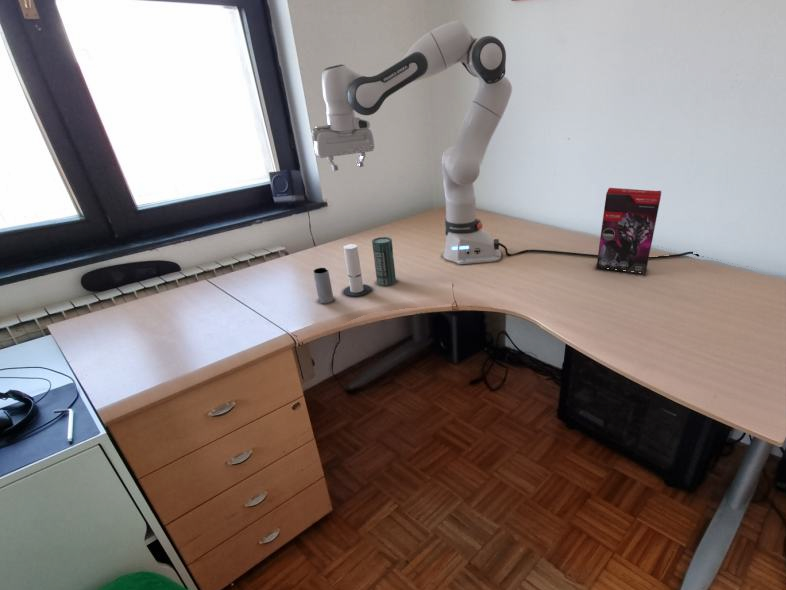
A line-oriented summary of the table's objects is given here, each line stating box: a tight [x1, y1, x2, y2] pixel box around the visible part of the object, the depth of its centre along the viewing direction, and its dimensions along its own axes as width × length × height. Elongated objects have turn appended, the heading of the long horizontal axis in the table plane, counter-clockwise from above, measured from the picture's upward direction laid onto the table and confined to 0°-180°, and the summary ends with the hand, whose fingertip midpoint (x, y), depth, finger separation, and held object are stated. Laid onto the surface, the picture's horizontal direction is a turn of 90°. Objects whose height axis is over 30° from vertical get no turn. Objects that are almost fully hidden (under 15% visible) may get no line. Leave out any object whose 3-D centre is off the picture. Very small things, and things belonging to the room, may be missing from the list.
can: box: [371, 236, 397, 287], centre depth 153 cm, size 6×6×15 cm
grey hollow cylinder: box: [312, 267, 334, 304], centre depth 143 cm, size 4×4×10 cm
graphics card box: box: [596, 187, 662, 275], centre depth 155 cm, size 17×7×27 cm, turn 68°
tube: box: [343, 243, 364, 293], centre depth 147 cm, size 4×4×15 cm
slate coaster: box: [343, 284, 372, 298], centre depth 151 cm, size 9×9×1 cm
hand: (348, 168), depth 155 cm, fingers open, 8 cm apart
